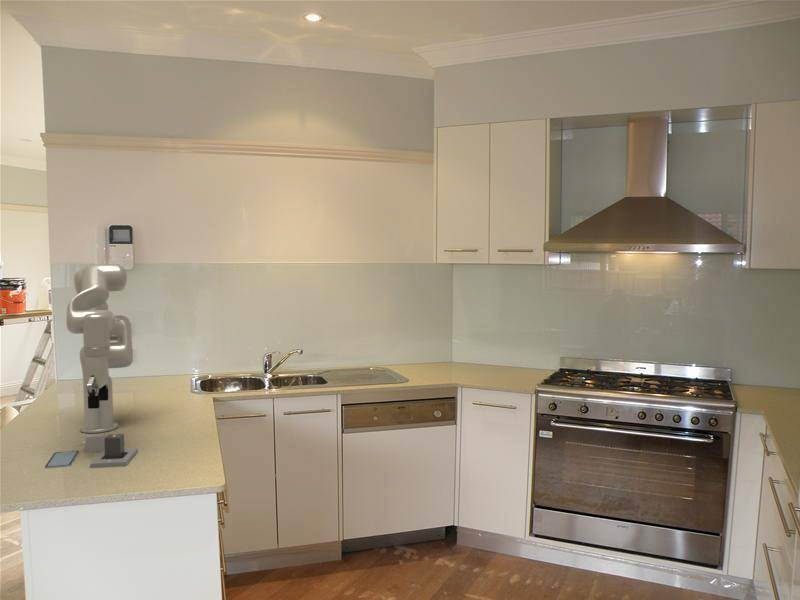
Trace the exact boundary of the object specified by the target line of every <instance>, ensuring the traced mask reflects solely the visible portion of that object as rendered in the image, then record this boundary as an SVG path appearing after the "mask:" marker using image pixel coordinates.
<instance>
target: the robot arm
mask: <svg viewBox="0 0 800 600" xmlns="http://www.w3.org/2000/svg"><path fill="white" fill-rule="evenodd" d="M127 279H128V277H127V271H126V269H125V267H124V266H123V265H121V264H118V263H116V264H115V263H110V264H109V263H108V264H107V263H104V264H103V263H98V264H97V263H96V264H95V263H94V264H89V265H86V266H85V267H84V268H83V269H80V270H77V271H76V272H75V274H74V278H73V281H74V287H75V291H76V295H74V297H72V298H71V299H70V301H69V302H68V304H67V307H66V318H65V319H66V322H65V323H66V327H67V330H68V332H70V333H71V334H82V336H83V337H82V338H83V346H82V347H81V349H80V350H79V360H80V365H81V372H82V381H83V382H82V383H83V386H82V387H83V410H84V413H83V415H84V416H83V417H84V424H83V425H81V426H79V431H80V432H81V433H85V434H101V433H106V432H110V431H113V430H115V429H117V428H118V427H119V424H118V422H117V421H116V422H115V421H114V404H113V403H114V400H113V399H114V397H113V395H114V394H113V391H114V390H113V380H112V377H111V376H110V375H109V372H110V371H109V369H119V368H120V369H121V368H127V367H129V366H131V365H132V364H133V358H134V354H133V340H132V339H133V338H132V325H131V321H130V319H129V318H128V316H125V315H117V314H116V315H115V314H114V313H113V312H112V310H109V304H108V302H107V301H108V299H109V297H110V292H122V291H124V289H125V288H126V285H127V281H128V280H127Z"/></svg>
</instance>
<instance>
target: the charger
mask: <svg viewBox="0 0 800 600" xmlns="http://www.w3.org/2000/svg"><path fill="white" fill-rule="evenodd" d="M104 444H105V449H104V450H105V459H121V458H123V457H124V456H125V453H124V449H125V434H124V433H113V434H111V433H109V434H108V435H107V436H105V438H104Z"/></svg>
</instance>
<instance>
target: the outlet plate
mask: <svg viewBox="0 0 800 600" xmlns="http://www.w3.org/2000/svg"><path fill="white" fill-rule="evenodd" d="M138 449H139V448H138V447H136V448H135V447H134V448H133V447H131V448H124V453H125V456H124V457H123V458H121V459H105V449H104V450H103V451H102V452H101V453H100V454H98V455H97V456H96V458H95V459H93V461H91V462H90V464H89V467H90V468H109V467H111V468H114V467H127V465H128V464H129V463H130V462H131V460H132V459H133V458H134V457H135V455H136V454H138V452H139V450H138Z"/></svg>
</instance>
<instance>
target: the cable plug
mask: <svg viewBox="0 0 800 600" xmlns="http://www.w3.org/2000/svg"><path fill="white" fill-rule="evenodd" d="M105 437H106V433H87V435H86V436H84V441H83V442H82V443H81V444H82V447H84V446H85V447H84V449H85V450H84V451H85V453H100V452H99V451H102V452H103V451H104V450H105V444H104V438H105ZM97 451H98V452H97Z"/></svg>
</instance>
